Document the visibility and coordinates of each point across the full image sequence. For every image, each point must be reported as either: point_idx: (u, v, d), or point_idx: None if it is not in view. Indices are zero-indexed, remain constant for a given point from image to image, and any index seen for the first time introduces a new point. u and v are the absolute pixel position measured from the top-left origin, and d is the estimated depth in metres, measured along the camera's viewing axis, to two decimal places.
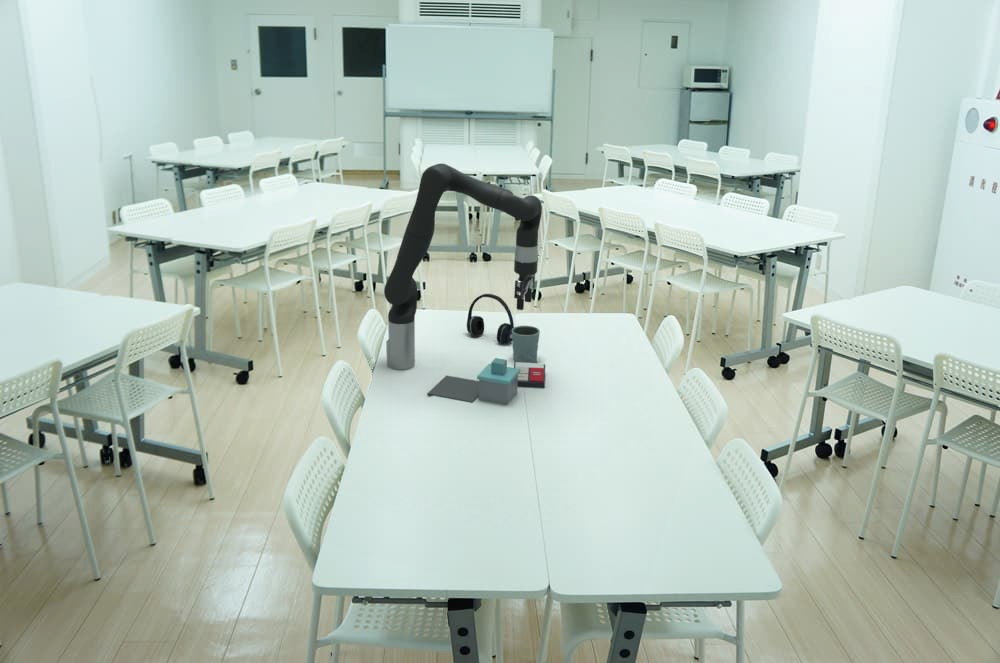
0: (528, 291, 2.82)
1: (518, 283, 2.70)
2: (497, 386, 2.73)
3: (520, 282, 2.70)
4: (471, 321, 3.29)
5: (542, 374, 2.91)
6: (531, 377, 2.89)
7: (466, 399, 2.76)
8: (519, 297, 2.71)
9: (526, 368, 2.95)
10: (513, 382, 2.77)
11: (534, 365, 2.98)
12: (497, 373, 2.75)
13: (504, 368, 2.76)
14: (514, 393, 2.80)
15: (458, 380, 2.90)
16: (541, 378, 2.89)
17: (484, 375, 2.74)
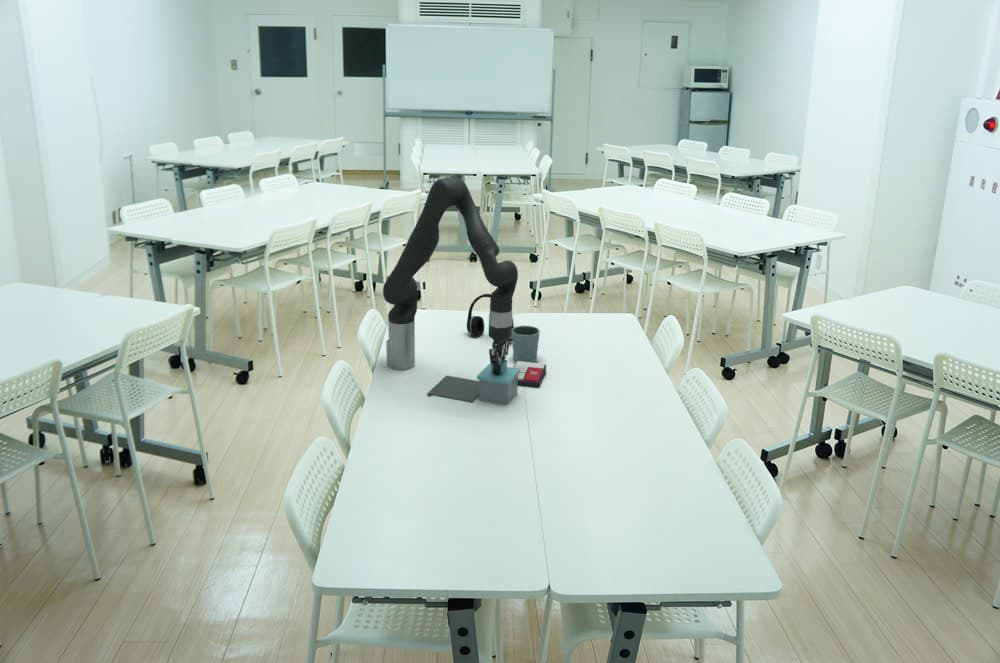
0: None
1: (492, 352, 2.68)
2: (497, 386, 2.73)
3: (494, 352, 2.68)
4: (471, 321, 3.29)
5: (539, 374, 2.91)
6: (527, 376, 2.90)
7: (466, 399, 2.76)
8: (495, 363, 2.71)
9: (525, 367, 2.96)
10: (513, 382, 2.77)
11: (534, 365, 2.98)
12: None
13: (504, 368, 2.76)
14: (514, 393, 2.80)
15: (458, 380, 2.90)
16: (537, 378, 2.89)
17: (484, 375, 2.74)
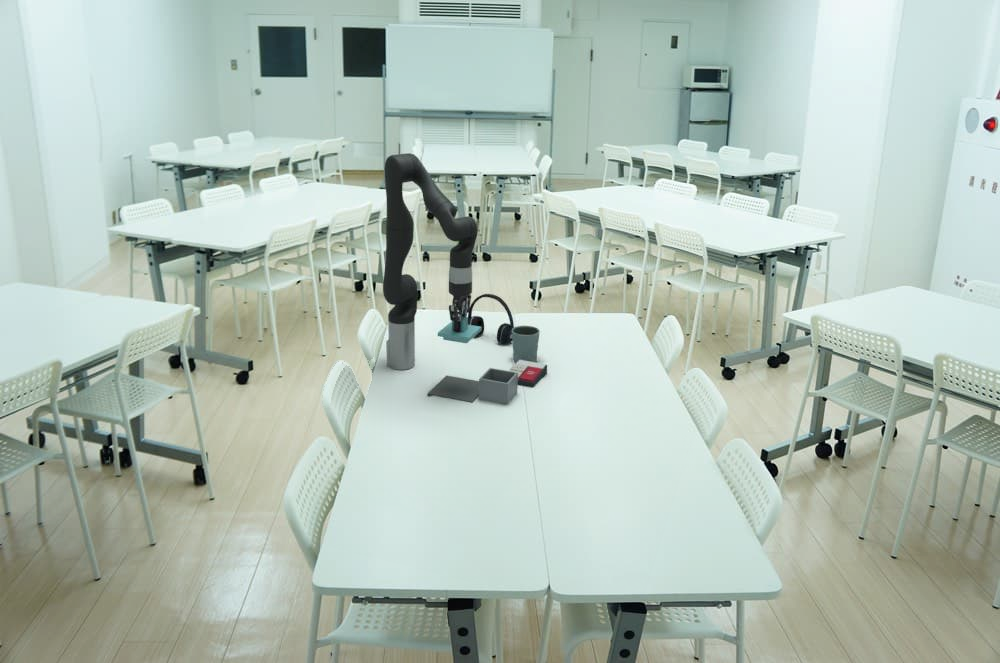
0: None
1: (452, 308, 2.68)
2: (497, 386, 2.73)
3: (453, 308, 2.68)
4: (471, 321, 3.29)
5: (536, 374, 2.91)
6: (523, 375, 2.90)
7: (466, 399, 2.76)
8: (455, 319, 2.71)
9: (524, 366, 2.97)
10: (513, 382, 2.77)
11: (535, 365, 2.99)
12: None
13: (465, 325, 2.75)
14: (514, 393, 2.80)
15: (458, 380, 2.90)
16: (532, 377, 2.89)
17: (445, 332, 2.74)
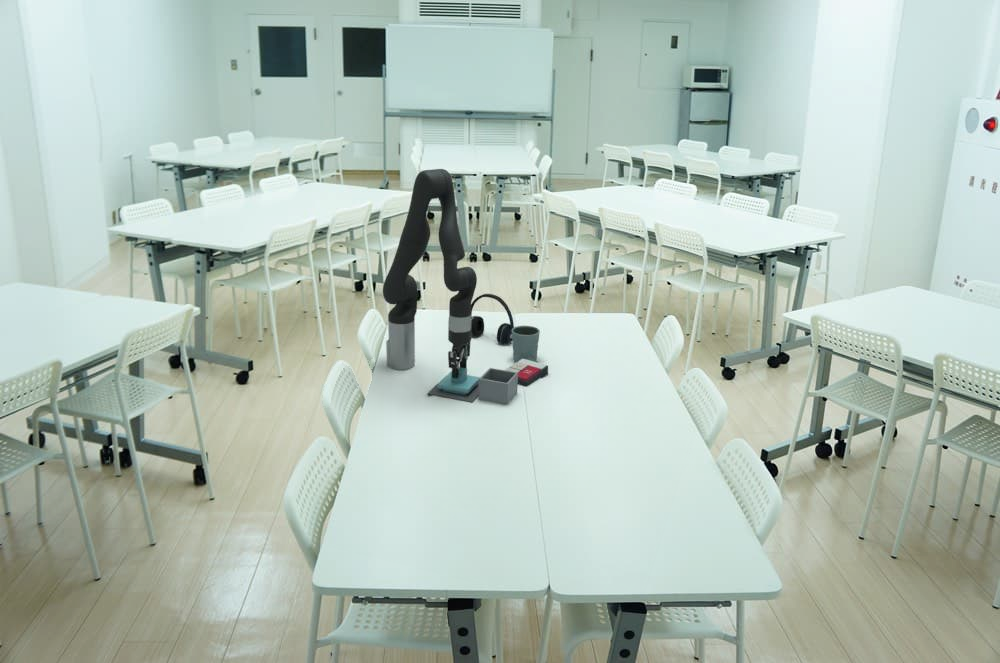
0: (463, 360, 2.84)
1: (451, 354, 2.73)
2: (497, 386, 2.73)
3: (453, 354, 2.73)
4: (471, 321, 3.29)
5: (532, 373, 2.92)
6: (519, 374, 2.91)
7: (466, 399, 2.76)
8: (453, 367, 2.75)
9: (524, 365, 2.98)
10: (513, 382, 2.77)
11: (535, 364, 2.99)
12: (457, 381, 2.81)
13: (464, 376, 2.82)
14: (514, 393, 2.80)
15: None
16: (527, 376, 2.89)
17: (444, 383, 2.81)
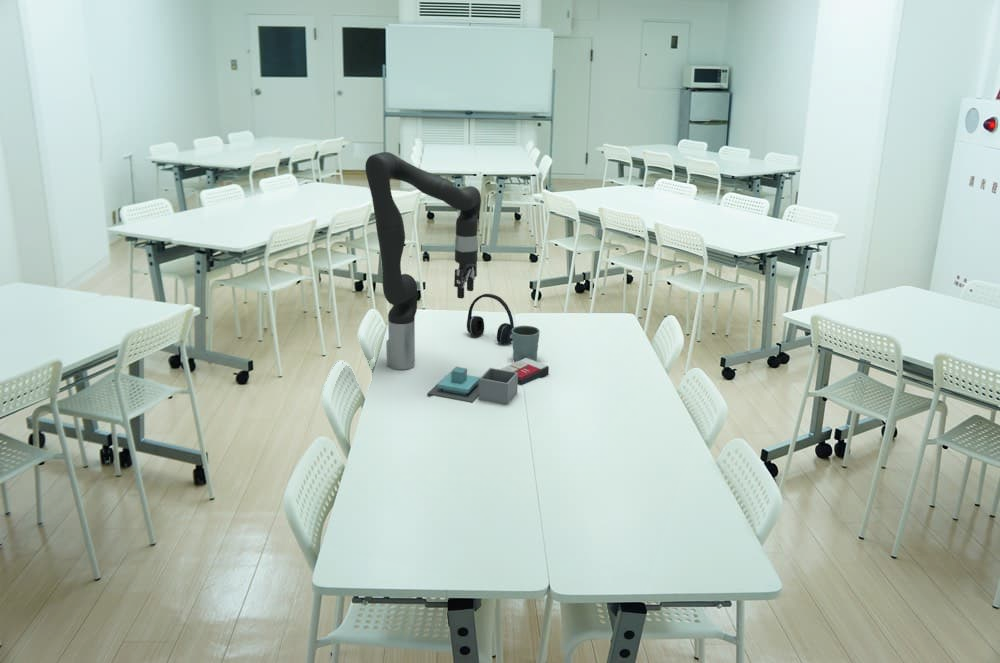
0: (470, 280, 2.88)
1: (457, 272, 2.76)
2: (497, 386, 2.73)
3: (459, 271, 2.76)
4: (471, 321, 3.29)
5: (529, 373, 2.92)
6: None
7: (466, 399, 2.76)
8: (459, 286, 2.77)
9: (524, 364, 2.98)
10: (513, 382, 2.77)
11: (536, 364, 2.99)
12: (457, 381, 2.81)
13: (464, 376, 2.82)
14: (514, 393, 2.80)
15: None
16: (522, 375, 2.90)
17: (444, 383, 2.81)
